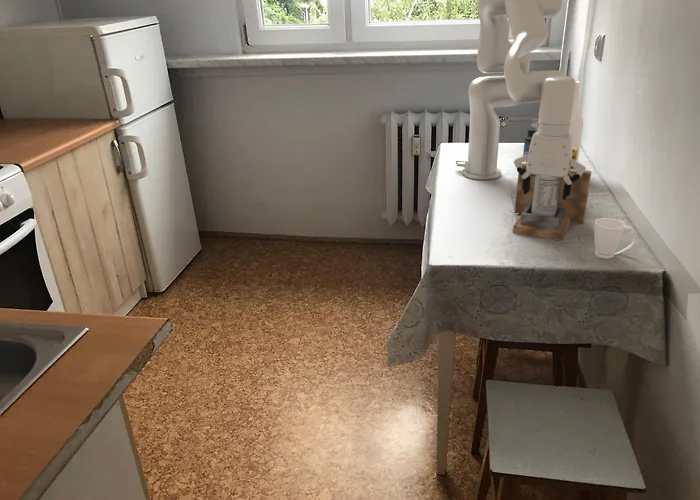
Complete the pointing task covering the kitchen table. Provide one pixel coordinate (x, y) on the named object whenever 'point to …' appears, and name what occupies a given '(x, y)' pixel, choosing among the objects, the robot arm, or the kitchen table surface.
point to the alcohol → (576, 121)
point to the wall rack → (565, 209)
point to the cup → (609, 237)
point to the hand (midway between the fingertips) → (545, 195)
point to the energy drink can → (545, 195)
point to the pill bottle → (528, 140)
